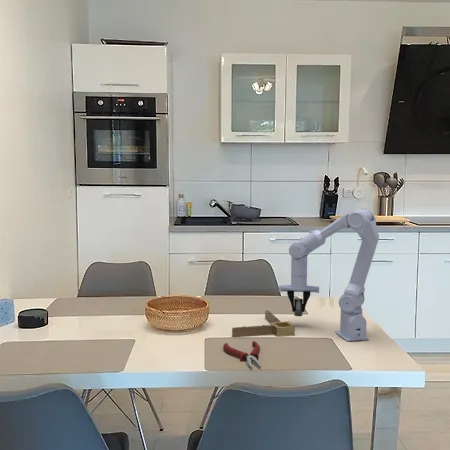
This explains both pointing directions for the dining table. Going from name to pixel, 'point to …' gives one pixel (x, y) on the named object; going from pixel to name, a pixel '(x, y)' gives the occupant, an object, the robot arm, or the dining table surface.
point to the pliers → (245, 354)
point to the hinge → (266, 328)
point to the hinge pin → (298, 306)
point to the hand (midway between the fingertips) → (298, 311)
